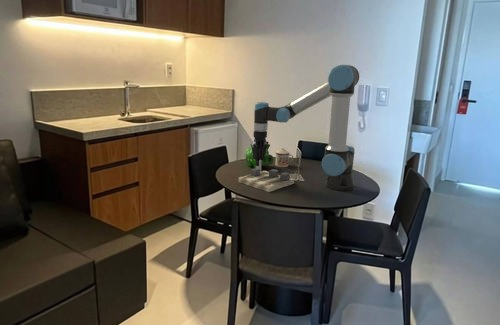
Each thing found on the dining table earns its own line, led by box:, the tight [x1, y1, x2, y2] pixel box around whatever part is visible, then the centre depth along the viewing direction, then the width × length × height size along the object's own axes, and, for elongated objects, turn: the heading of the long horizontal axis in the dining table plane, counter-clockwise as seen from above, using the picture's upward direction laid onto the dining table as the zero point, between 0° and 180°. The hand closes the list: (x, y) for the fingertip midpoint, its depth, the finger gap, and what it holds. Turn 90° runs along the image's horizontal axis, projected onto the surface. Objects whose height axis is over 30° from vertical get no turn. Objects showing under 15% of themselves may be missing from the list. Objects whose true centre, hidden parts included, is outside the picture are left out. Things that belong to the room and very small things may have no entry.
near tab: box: [279, 172, 291, 180], centre depth 203 cm, size 4×4×3 cm
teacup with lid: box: [274, 147, 294, 168], centre depth 240 cm, size 12×9×12 cm
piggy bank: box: [244, 143, 274, 169], centre depth 234 cm, size 14×18×15 cm
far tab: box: [250, 167, 260, 176], centre depth 209 cm, size 4×4×3 cm
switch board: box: [237, 170, 295, 193], centre depth 205 cm, size 22×22×3 cm
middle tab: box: [268, 169, 279, 177], centre depth 208 cm, size 4×4×3 cm
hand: (258, 171), depth 211 cm, fingers closed
